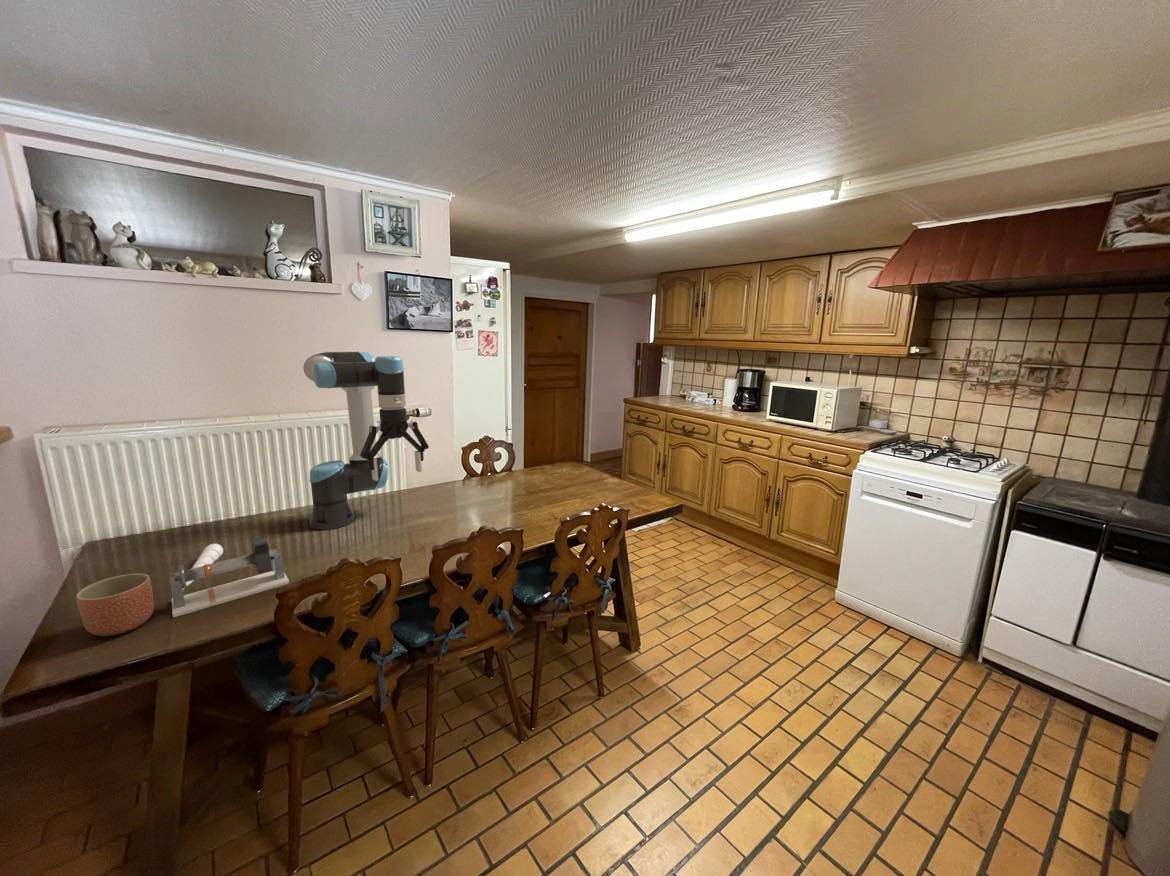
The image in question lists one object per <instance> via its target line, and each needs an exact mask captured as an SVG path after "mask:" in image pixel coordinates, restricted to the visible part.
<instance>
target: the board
mask: <svg viewBox="0 0 1170 876" xmlns="http://www.w3.org/2000/svg"><path fill="white" fill-rule="evenodd" d="M284 575H285V578H281V579H278V580H277V579H276V577H275V576H274V570H272V571H270V572H266V573H263V574H257V575H254V576H249V577H246V578H243V579H238V580H234V581H231V582H227V583H224V584H220V585H216V586H213V587H209V588H206V589H201V590H198V591H194V592H191V593H187V594H183V595H184V600H185V606H183V607H180V608H176V609H175V607H174V602H173V597H172V598H171V611H172V612H171V613H172V618H176V617H179V616H183V615H187V614H191V613H194V612H197V611H200V610H203V609H207V608H210V607H214V606H217V605H220V604H224V603H228V602H231V601H234V600H238V599H241V598H244V597H247V596H252V595H255V594H258V593H262V592H265V591H269V590H271V589H275V588H279V587H282V586H284V585H288V584H290V580H289V577H288V576H287V575H286V573H285V572H284Z"/></svg>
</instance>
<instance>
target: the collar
mask: <svg viewBox="0 0 1170 876" xmlns="http://www.w3.org/2000/svg"><path fill="white" fill-rule="evenodd" d="M250 541H251V546H252V547H251V548H252V554H254V553H255V554H256V561H257V564H254V566H255V569H256V571H257V573H258V575H260V574H263V573H267V572H271V571H273V570H272V569H273V567H272V560H270V554H269V550H270V549H269V548H270V547H269V543H268V542H267V539H266V537H265V536H264V535H263V536H260V537H255V538H251V539H250Z"/></svg>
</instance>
